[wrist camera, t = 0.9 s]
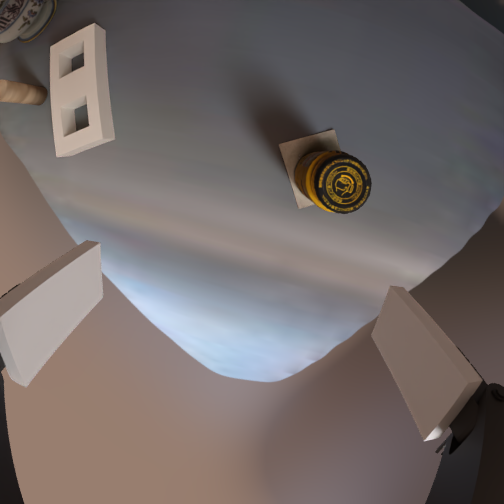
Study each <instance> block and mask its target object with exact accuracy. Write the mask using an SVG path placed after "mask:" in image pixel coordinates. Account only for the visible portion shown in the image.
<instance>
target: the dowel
mask: <svg viewBox="0 0 504 504" xmlns="http://www.w3.org/2000/svg"><path fill="white" fill-rule="evenodd" d="M46 98H47V89H46V88H44V87H39V86H35V85H30V84H24V83H19V82H14V81H8V80H0V101H3V102H14V103H24V104H32V105H41V104H43V103H44V101H45V100H46Z"/></svg>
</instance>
